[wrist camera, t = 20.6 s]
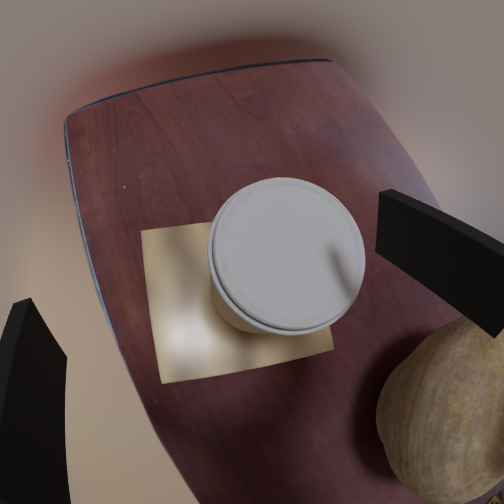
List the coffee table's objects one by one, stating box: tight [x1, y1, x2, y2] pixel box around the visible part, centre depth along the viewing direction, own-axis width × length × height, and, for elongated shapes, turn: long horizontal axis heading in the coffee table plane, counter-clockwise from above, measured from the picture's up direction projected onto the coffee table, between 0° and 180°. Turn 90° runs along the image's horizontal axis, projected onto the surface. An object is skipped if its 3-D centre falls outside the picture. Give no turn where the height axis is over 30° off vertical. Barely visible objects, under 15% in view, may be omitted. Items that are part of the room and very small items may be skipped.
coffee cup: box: [207, 178, 365, 336], centre depth 22 cm, size 9×9×12 cm
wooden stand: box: [141, 222, 334, 384], centre depth 31 cm, size 16×14×8 cm
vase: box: [376, 316, 504, 504], centre depth 21 cm, size 22×22×30 cm
